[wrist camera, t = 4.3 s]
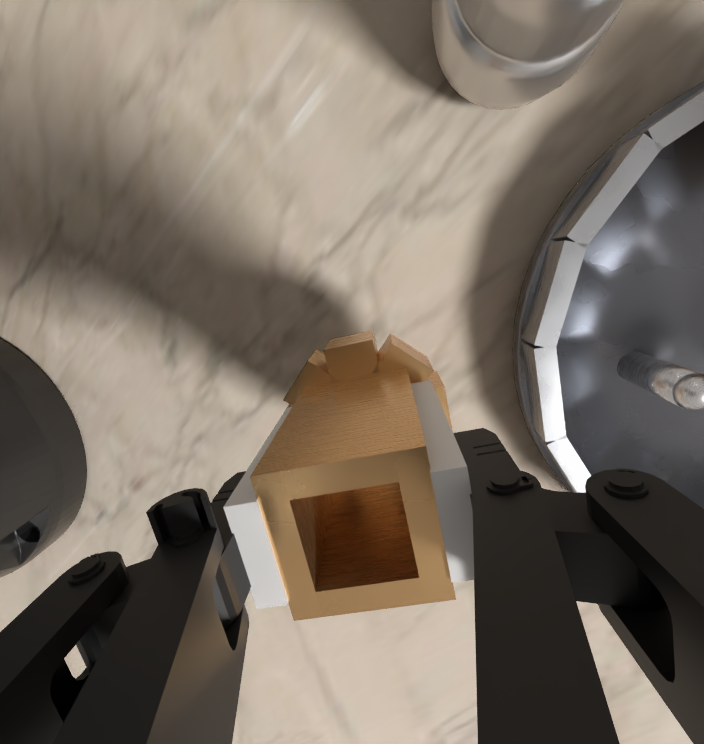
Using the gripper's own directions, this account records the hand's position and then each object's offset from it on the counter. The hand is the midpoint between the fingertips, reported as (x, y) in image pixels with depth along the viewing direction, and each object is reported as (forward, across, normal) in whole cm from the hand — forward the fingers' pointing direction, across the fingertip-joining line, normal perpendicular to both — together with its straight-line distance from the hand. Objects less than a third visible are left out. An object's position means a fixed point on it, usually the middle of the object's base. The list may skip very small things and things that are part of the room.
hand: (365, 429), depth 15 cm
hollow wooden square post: (+3, 0, 0) cm, 3 cm away
